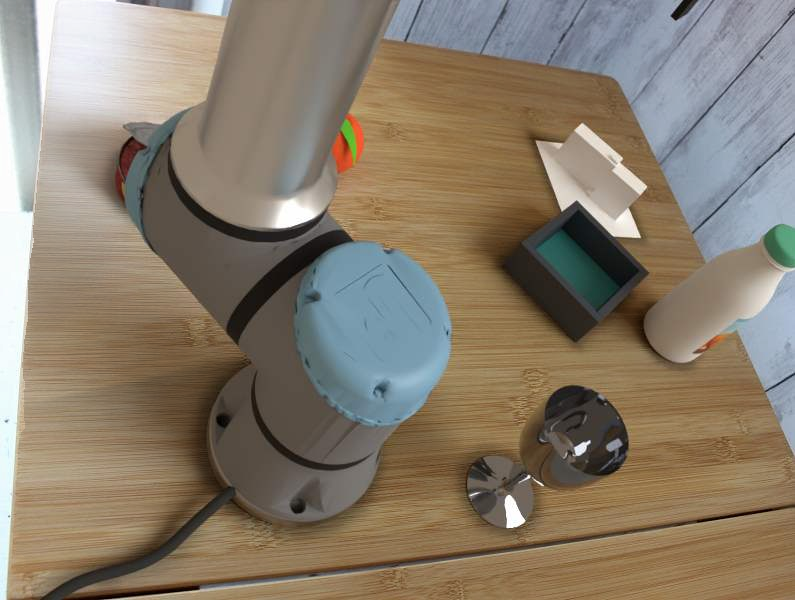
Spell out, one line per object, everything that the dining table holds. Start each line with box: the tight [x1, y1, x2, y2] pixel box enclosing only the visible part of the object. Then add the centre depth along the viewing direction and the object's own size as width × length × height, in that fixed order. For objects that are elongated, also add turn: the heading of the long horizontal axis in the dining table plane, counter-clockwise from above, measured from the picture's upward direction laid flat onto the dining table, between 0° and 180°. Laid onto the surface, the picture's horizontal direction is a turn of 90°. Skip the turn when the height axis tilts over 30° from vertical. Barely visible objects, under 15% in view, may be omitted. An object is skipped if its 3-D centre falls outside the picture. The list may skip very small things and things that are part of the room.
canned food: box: [113, 121, 163, 207], centre depth 80 cm, size 11×10×10 cm
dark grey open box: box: [501, 200, 650, 343], centre depth 96 cm, size 12×12×5 cm
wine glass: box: [466, 384, 630, 529], centre depth 73 cm, size 8×8×15 cm
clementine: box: [332, 112, 365, 174], centre depth 90 cm, size 8×7×7 cm
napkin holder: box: [535, 122, 648, 239], centre depth 105 cm, size 15×11×6 cm
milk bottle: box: [643, 223, 795, 364], centre depth 91 cm, size 8×8×20 cm
